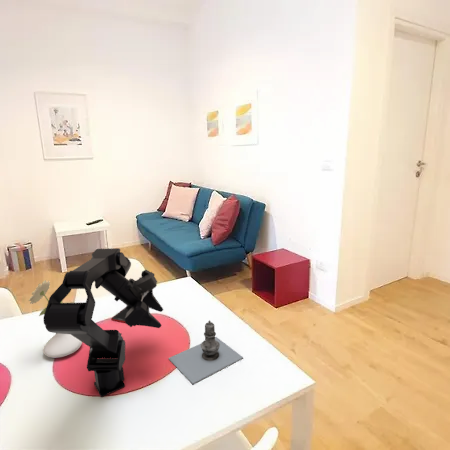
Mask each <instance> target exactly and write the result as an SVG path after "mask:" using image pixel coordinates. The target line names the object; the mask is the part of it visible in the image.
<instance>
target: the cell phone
mask: <svg viewBox="0 0 450 450" xmlns="http://www.w3.org/2000/svg"><path fill="white" fill-rule="evenodd" d="M131 308H132V307H131ZM131 308H130V309H131ZM130 309H129V310H130ZM129 310H128V309H126V307H124V308H123V309H121V310H120V311H119V312H117V313H116V314H115V315H113V316H112V317H111V318H110V319H111V322H112V321H113V322H117V323H122V324H126V323H125V317H126V314H127V312H128V311H129Z"/></svg>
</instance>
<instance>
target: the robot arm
mask: <svg viewBox="0 0 450 450" xmlns="http://www.w3.org/2000/svg"><path fill="white" fill-rule="evenodd" d="M131 266H132V262H131V260H130V259H129V258H128V257H127V256H125V254H124V252H121V249H120V247H119V248H113V247H112V248H96V249H95V250H94V251H93V252H92V253H91V258H90V259H89V260H87V261H86V262H84V263H83V264H81V265H79V266H77V267H76V268H74V269H72V270H70V271H67V272H66V273H65V274H64V277H63V280H62V283H61V284H60V285H59V286H58V287H57V288H56V289H55V291H54V292H53V293H52V294H50V296H49V298H48V300H49V301H47V305H46V307H47V308H46V307H45V308H46V311H45V314H43V325H44V326H45V328H46V330H47V332H49V333H53V334H56V333H60V334H71V335H72V336H74V337H75V338H77V339H78V340H80V341H81V342H82V344H84V345H87V347H89V351H88V357H87V362H86V363H87V364H86V369H87V371H88V372H93V373H94V379H95V381H94V382H93V384H94V387H95V389H96V390H97V392H98V394H99V396H100V397H101V398H103V397H105V396H107V395H110V394H112V393H114V392H116V391H118V390H120V389H123V388H124V387H126V384H125V383H124V380H125V375H124V373H125V372H124V368H123V365H124V363H125V361H126V340H124V337H123V336H122V332H119V330H117V329H103V328H102V327H101V326H100V325H98V324H97V323H96V322H95V321H94V320H93V316H94V311H95V307H96V300H95V298H94V295H93V292H92V288H93V283H94V288H95V289H97V290H98V289H99V288H100V287H102V288H104V290H106V292H109V294H110V295H113V296H114V299H113V300H115V301H116V302H119V301H121V303H123V304H124V305H126V309H128V310H129V309H130V308H131V307H132V308H131V309H130V310H129V311H128V312H127V314H126V317H125V323H124V324H125V325H127V326H129V327H130V328H132V327H136V326H139V327H141V326H142V327H150V328H156V329H160V328H162V324H161V322H160V321H159V320H158V319H157V318H155V316H153V314H151V312H150V309H151V310H155V311H157V312H160V313H162V312H163V311H164V307H162V305H161V304H160V302H159V301H158V299H156V296H155V295H154V292H153V291H154V289H155V288H156V287H157V285H158V280H157V278H156V277H155V273H153V271H150V270H147V269H144V270H143V271H142V272H141V276H140V277H138V279H136V280H135V279H134V278H129V279H128V278H127V277H126V276H127V274H128V272H129V270H130V268H131ZM72 290H85V293H86V301H85V302H63V301H64V300H65V298H66V297H67V296H68V295H69V294H70V293H71V291H72ZM61 301H62V303H61Z"/></svg>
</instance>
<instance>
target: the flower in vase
mask: <svg viewBox="0 0 450 450" xmlns="http://www.w3.org/2000/svg"><path fill="white" fill-rule="evenodd" d="M50 285H51V282H50V280H47V279H46V280H43V281H42V283H39V284H38V285H37V286H36V287H35V290H34V291H32V292H31V296H30V298H29V300H28V302H29V304H30V305H31V304H37V302H39V301H40V300H41V299H43V297H44V298H45V299H46V301H47V302H48V301H49V298H48V296H46V294H47V292H48V291H49V289H50ZM61 303H63V300H62V301H61ZM46 308H47V306H46V307H44V308H43V309H42V310H41V311H40V313H39V315H38V316H39V317H40V316H42V315H43V316H44V314H45V311H46ZM82 345H83V342H81V341H80V340H78V339H77V338H75V337H74V336H72V335H71V334H60V333H54V335H53V336H52V337H51V338H49V340H48V341H47V342H46V343H45V344H44V345H43V349H42V352H43V354H44V355H45V356H46V357H48V358H55V359H57V358H63V357H66V356H69V355H71V354H73V353H76V352H77V350H79V349H80V347H81V346H82Z"/></svg>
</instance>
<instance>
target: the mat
mask: <svg viewBox="0 0 450 450" xmlns="http://www.w3.org/2000/svg"><path fill="white" fill-rule="evenodd" d="M215 340H216V341H218V342H219V343H220V347H219V349H218V351H217V352H218V353H219V357H218V358H217V359H216V360H213V361H207V360H205V359H203V357H202V354H203V350H202V348H201V343H199V344H197V345H195V346H192V347H190V348H188V349H185V350H183V351H181V352H179V353H177V354H175V355H172V356H170V357H168V358H167V359H168V360H169V361H170V362H171V364H173V366H174V367H177V368H176V369H177V370H178V371H179V372H180V373H181V374H182V375H183V376H184V377H185V378H186V379H187V380H188V381H189V383H190V384H192V385H195V384H197V383H199V382H201V381H203V380H205V379H207V378H209V377H211V376H213V375H214V374H216V373H218V372H220V371H222V370H223V369H226V368H228V367H229V366H231V365H234V364H235V363H238V362H239V361H242V360H243V359H244V356H242V355H241V354H239V352H237V351H235V350H234V349H233V348H232V347H230V345H227V343H225V342H224V341H222V340H221V339H220V338H218V336H215Z"/></svg>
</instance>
